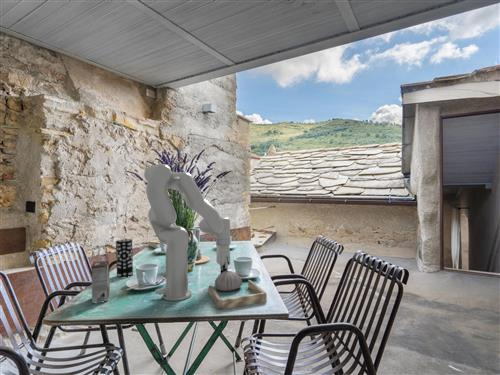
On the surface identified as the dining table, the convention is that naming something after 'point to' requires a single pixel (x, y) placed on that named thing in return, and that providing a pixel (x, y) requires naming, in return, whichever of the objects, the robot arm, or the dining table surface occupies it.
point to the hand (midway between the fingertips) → (224, 277)
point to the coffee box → (100, 281)
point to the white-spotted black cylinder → (124, 257)
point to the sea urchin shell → (228, 281)
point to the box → (241, 300)
